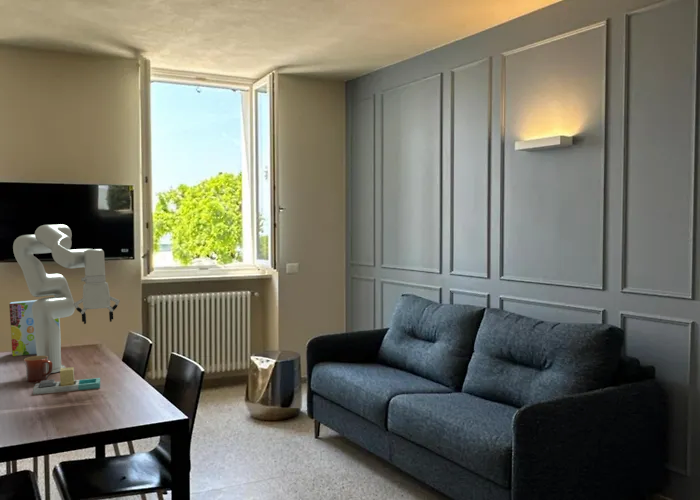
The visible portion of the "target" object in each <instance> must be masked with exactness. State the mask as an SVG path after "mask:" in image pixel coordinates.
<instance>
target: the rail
mask: <svg viewBox="0 0 700 500" xmlns="http://www.w3.org/2000/svg"><path fill="white" fill-rule="evenodd" d="M54 383H55V386H54V387H43V388H40V382H38V383H34V386H33V388H32V395H33V396H35V395H44V394H52V393H65V392H73V391H85V390H96V389H97V390H98V389H101V377H95V378H83V379H82V378H81V379H74V384H75V385H65V386H61V381H54Z"/></svg>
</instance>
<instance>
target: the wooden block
mask: <svg viewBox="0 0 700 500" xmlns="http://www.w3.org/2000/svg"><path fill="white" fill-rule="evenodd" d="M59 374H60V375H59V376H60V377H59V378H60V379H59V380H60V381H59V382H61V386H65V385H75V384H74V380H75V367H74V366H73V367H65V368H61V370H60V372H59Z"/></svg>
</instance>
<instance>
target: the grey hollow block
mask: <svg viewBox="0 0 700 500" xmlns="http://www.w3.org/2000/svg"><path fill="white" fill-rule="evenodd" d="M54 382H55V379H47V380H41V382H39V383H40V388H43V387H54V386H55V383H54Z"/></svg>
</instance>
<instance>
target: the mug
mask: <svg viewBox="0 0 700 500" xmlns="http://www.w3.org/2000/svg"><path fill="white" fill-rule="evenodd" d="M23 361H24V364H25V368H26V369H25V370H26V375H25V376H26V382H27V383H31V384H32V383H33V384H37V383H40V382H41V380H48V376H49V375H50V374H52V373H51V372H52V369H53V364H52V362H51V361H50V360H48V356H37V355H32V356H27V357H25V358H24V359H23ZM47 363H48V364H49V371H48V373H47V367H46V364H47Z"/></svg>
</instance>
